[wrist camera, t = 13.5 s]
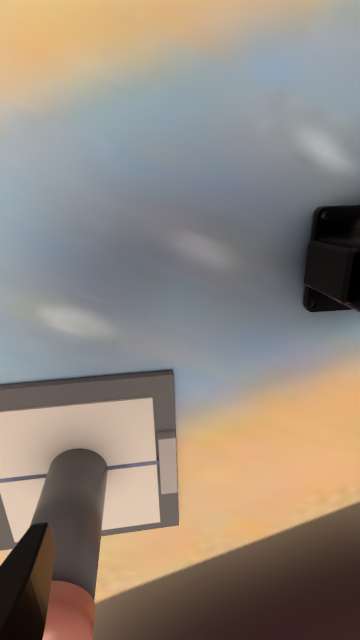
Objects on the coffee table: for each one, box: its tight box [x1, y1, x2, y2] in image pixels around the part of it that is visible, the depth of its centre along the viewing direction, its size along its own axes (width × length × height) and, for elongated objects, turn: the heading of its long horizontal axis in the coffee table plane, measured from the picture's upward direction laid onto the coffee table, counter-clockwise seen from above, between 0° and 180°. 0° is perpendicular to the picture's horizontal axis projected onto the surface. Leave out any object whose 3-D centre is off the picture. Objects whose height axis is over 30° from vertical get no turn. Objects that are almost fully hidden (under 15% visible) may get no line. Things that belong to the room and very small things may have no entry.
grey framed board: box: [0, 370, 179, 550], centre depth 23 cm, size 14×14×1 cm
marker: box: [30, 448, 108, 640], centre depth 18 cm, size 4×4×10 cm
